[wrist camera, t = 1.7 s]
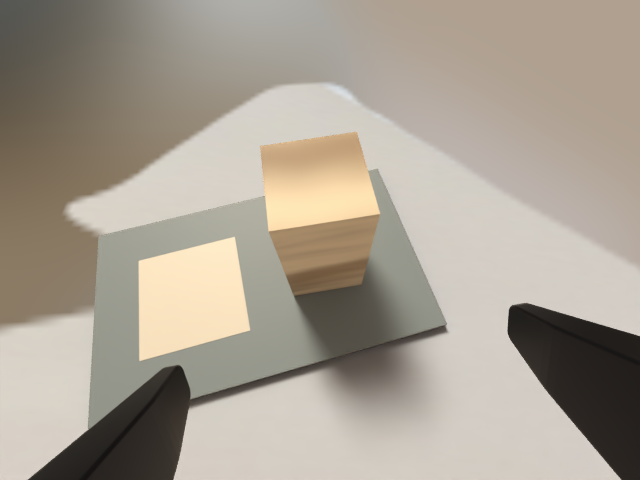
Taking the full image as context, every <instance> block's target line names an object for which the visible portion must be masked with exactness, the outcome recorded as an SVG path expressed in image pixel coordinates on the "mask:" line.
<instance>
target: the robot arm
mask: <svg viewBox="0 0 640 480" xmlns="http://www.w3.org/2000/svg"><path fill="white" fill-rule="evenodd" d="M508 335H509V338H510V340H511V341H512V343H513V344H514V346H515V347H516V348H517V350H518V351H519V353H520V354H521V356H522V357H523V358H524V360H525V361H526V363H527V364H528V366H529V367H530V368H531V370H532V371H533V373H534V374H535V376H536V377H537V378H538V380H539V381H540V383H541V384H542V385H543V387H544V388H545V389H546V391H547V392H548V393H549V394H550V396H551V397H552V398H553V399H554V400H555V402H556V403H557V404H558V405H559V406H560V408H561V409H562V410H563V411H564V412H565V413H566V415H567V416H568V417H569V418H570V419H571V421H572V422H573V423H574V424H575V425H576V427H577V428H578V429H579V430H580V431H581V432H582V434H583V435H584V436H585V437H586V438H587V440H588V441H589V442H590V443H591V444H592V445H593V447H594V448H595V449H596V450H597V451H598V453H599V454H600V455H601V456H602V457H603V459H604V460H605V461H606V462H607V463H608V464H609V466H610V467H611V468H612V469H613V470H614V472H615V473H616V474H617V475H618V476H619V477H620V479H621V480H640V336H637V335H634V334H630V333H627V332H624V331H620V330H617V329H613V328H610V327H607V326H603V325H600V324H596V323H593V322H590V321H586V320H583V319H579V318H576V317H573V316H569V315H566V314H562V313H559V312H556V311H552V310H549V309H545V308H542V307H539V306H535V305H532V304H528V303H522V304H517V305H512V306H511V307H510V309H509V317H508ZM190 398H191V391H190V387H189V384H188V381H187V378H186V375H185V373H184V370H183V368H182V366H180V365H173V366H167V367H164V368H162V369H161V370H160V371H159V372H158V373H156V374H155V375H154V376H153V377H151V378H150V379H149V380H148V381H147V382H145V383H144V384H143V385H142V386H141V387H139V388H138V389H137V390H136V391H135V392H133V393H132V394H131V395H130V396H129V397H127V398H126V399H125V400H124V401H122V402H121V403H120V404H119V405H118V406H116V407H115V408H114V409H113V410H112V411H110V412H109V413H108V414H107V415H106V416H104V417H103V418H102V419H101V420H100V421H98V422H97V423H96V424H95V425H93V426H92V427H91V428H90V429H89V430H87V431H86V432H85V433H84V434H83V435H81V436H80V437H79V438H78V439H77V440H75V441H74V442H73V443H72V444H71V445H69V446H68V447H67V448H66V449H64V450H63V451H62V452H61V453H60V454H58V455H57V456H56V457H55V458H54V459H52V460H51V461H50V462H49V463H48V464H46V465H45V466H44V467H43V468H42V469H40V470H39V471H38V472H37V473H35V474H34V475H33V476H32V477H31V478H29V479H28V480H173V479H174V475H175V472H176V468H177V464H178V461H179V456H180V452H181V447H182V441H183V436H184V431H185V425H186V420H187V414H188V409H189V404H190Z"/></svg>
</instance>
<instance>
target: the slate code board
mask: <svg viewBox="0 0 640 480" xmlns="http://www.w3.org/2000/svg"><path fill="white" fill-rule="evenodd" d="M368 173H369V177H370V180H371V184H372V187H373V190H374V194H375V197H376V201H377V204H378V208H379V211H380V217H379V221H378V224H377V228H376V232H375V236H374V239H373V243H372V247H371V251H370V255H369V258H368V262H367V266H366V270H365V273H364V277H363V281H362V285H357V286H351V287H345V288H339V289H333V290H327V291H321V292H315V293H309V294H303V295H297V296H294V295H293V293H292V290H291V288H290V285H289V283H288V280H287V277H286V275H285V272H284V270H283V267H282V265H281V262H280V259H279V257H278V254H277V252H276V249H275V247H274V244H273V242H272V239H271V236H270V234H269V231H268V220H267V210H266V200H265V196H263V197H259V198H254V199H250V200H246V201H242V202H238V203H234V204H230V205H225V206H221V207H217V208H213V209H209V210H205V211H201V212H196V213H192V214H188V215H184V216H180V217H176V218H172V219H167V220H163V221H159V222H155V223H151V224H147V225H143V226H138V227H134V228H130V229H126V230H122V231H118V232H114V233H110V234H105V235H101V236H99V240H98V258H97V276H96V294H95V311H94V329H93V346H92V364H91V382H90V400H89V417H88V429H90V428H91V427H92V426H93V425H95V424H96V423H97V422H98V421H100V420H101V419H102V418H103V417H104V416H106V415H107V414H108V413H109V412H110V411H112V410H113V409H114V408H115V407H116V406H118V405H119V404H120V403H121V402H122V401H124V400H125V399H126V398H127V397H129V396H130V395H131V394H132V393H133V392H135V391H136V390H137V389H138V388H139V387H141V386H142V385H143V384H144V383H145V382H147V381H148V380H149V379H150V378H151V377H153V376H154V375H155V374H156V373H158V372H159V371H160V370H161V369H162V368H164V367H167V366H173V365H180V366H182V368H183V370H184V373H185V375H186V378H187V381H188V384H189V387H190V391H191V398H190V400H192V399H195V398H199V397H202V396H205V395H209V394H212V393H216V392H219V391H223V390H226V389H229V388H233V387H236V386H240V385H243V384H247V383H250V382H253V381H257V380H260V379H264V378H267V377H270V376H274V375H277V374H281V373H284V372H288V371H291V370H294V369H298V368H301V367H305V366H308V365H312V364H315V363H318V362H322V361H325V360H329V359H332V358H336V357H339V356H342V355H346V354H349V353H353V352H356V351H360V350H363V349H366V348H370V347H373V346H377V345H380V344H383V343H387V342H390V341H394V340H397V339H401V338H404V337H407V336H411V335H414V334H418V333H421V332H425V331H428V330H431V329H435V328H438V327H442V326H445V325H446V324H447V323H446V321H445V318H444V316H443V314H442V312H441V309H440V307H439V305H438V303H437V300H436V298H435V296H434V294H433V292H432V289H431V287H430V285H429V283H428V280H427V278H426V276H425V274H424V271H423V269H422V267H421V265H420V262H419V260H418V258H417V256H416V254H415V251H414V249H413V247H412V245H411V242H410V240H409V238H408V236H407V233H406V231H405V229H404V227H403V224H402V222H401V220H400V218H399V215H398V213H397V211H396V209H395V207H394V204H393V202H392V200H391V198H390V195H389V193H388V191H387V189H386V186H385V184H384V182H383V180H382V177H381V175H380V173H379V171H378V169H374V170H370V171H368Z"/></svg>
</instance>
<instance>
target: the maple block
mask: <svg viewBox="0 0 640 480" xmlns="http://www.w3.org/2000/svg"><path fill="white" fill-rule="evenodd" d="M260 149H261V159H262V169H263V180H264V190H265V200H266V210H267V220H268V231H269V234H270V236H271V239H272V242H273V244H274V247H275V249H276V252H277V254H278V257H279V259H280V262H281V265H282V267H283V270H284V272H285V275H286V277H287V280H288V283H289V285H290V288H291V290H292V293H293V295H294V296H297V295H303V294H309V293H315V292H321V291H327V290H333V289H339V288H345V287H351V286H357V285H362V281H363V277H364V273H365V270H366V266H367V262H368V258H369V255H370V251H371V247H372V243H373V239H374V236H375V232H376V228H377V224H378V221H379V217H380V211H379V208H378V204H377V201H376V197H375V194H374V190H373V187H372V184H371V180H370V177H369V173H368V170H367V166H366V163H365V159H364V156H363V152H362V149H361V145H360V142H359V138H358V135H357V132H353V133H346V134H339V135H332V136H325V137H319V138H312V139H305V140H298V141H291V142H284V143H278V144H271V145H264V146H260Z"/></svg>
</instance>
